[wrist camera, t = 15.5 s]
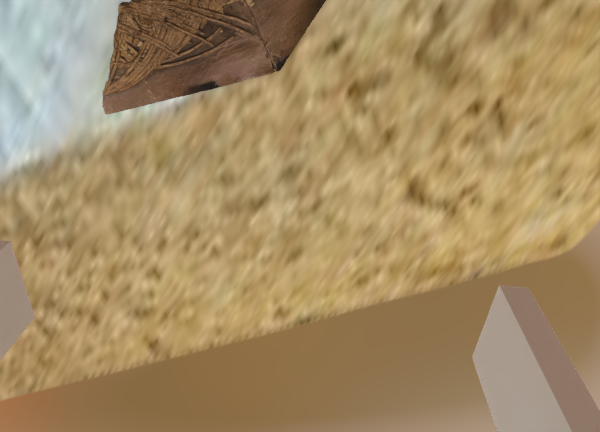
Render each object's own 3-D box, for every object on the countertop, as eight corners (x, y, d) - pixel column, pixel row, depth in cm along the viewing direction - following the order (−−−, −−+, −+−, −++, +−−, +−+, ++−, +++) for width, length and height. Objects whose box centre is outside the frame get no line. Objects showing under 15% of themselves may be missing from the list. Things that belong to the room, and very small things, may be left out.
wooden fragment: (330, -157, 30) (330, -160, 29) (395, 4, 34) (396, 6, 33) (53, 38, 37) (46, 40, 37) (136, 148, 42) (132, 153, 41)
